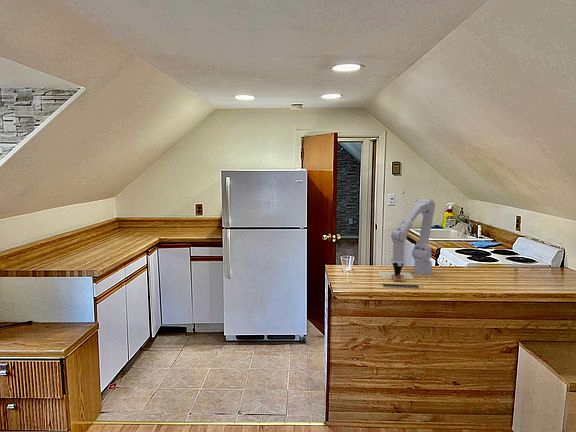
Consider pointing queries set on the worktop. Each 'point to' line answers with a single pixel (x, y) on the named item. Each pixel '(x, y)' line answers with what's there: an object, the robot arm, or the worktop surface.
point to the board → (389, 274)
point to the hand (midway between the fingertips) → (397, 276)
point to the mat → (401, 286)
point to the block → (398, 278)
